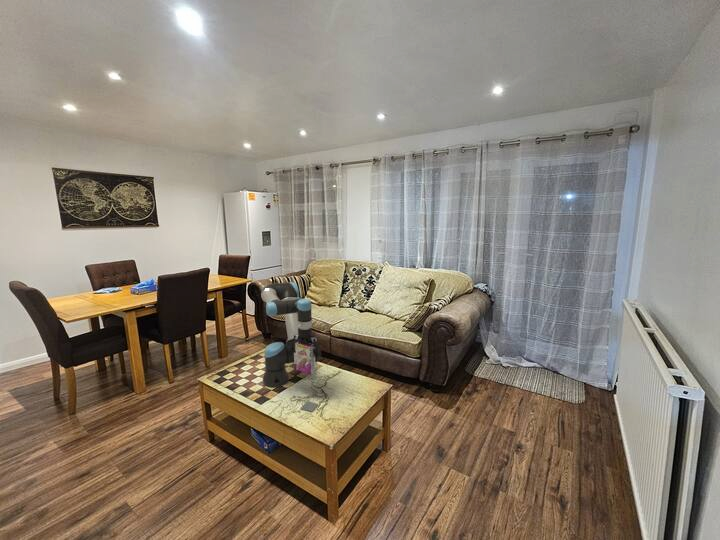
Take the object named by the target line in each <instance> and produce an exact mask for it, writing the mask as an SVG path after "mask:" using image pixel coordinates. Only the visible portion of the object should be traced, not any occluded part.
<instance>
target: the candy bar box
mask: <svg viewBox="0 0 720 540" xmlns="http://www.w3.org/2000/svg"><path fill="white" fill-rule="evenodd" d="M298 342H299V341H298ZM298 342H296V343H295V355H296V364H295V371H298V372H301V373H303V374H307V375H310V376H312V375H313V374H315V373H317V367H315V368H314V356H315V355H314V354H313V349H315V347H314V344H312V345H311V346H308V345H306V344H302V343H300V344H298ZM309 344H310V343H309Z"/></svg>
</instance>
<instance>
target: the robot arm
mask: <svg viewBox="0 0 720 540" xmlns="http://www.w3.org/2000/svg"><path fill="white" fill-rule="evenodd" d="M260 297H261V299H262V301H263V302H265V303H266V305H265V310H266V315H267V316H268V317H270V316H271V317H275V316H281V315H283V316H284V322H285V328H286V333H287V334H286V335H287V340H286V341H285V343H284V342H282V341H276V342H272V343H270V344H268V345H267V346H266V347H265V349H264V365H265V366H264V367H265V368H264V369H265V370H264V374H263V377H262V384H263V385H264V387H267V388H278V387H282V386H284V385H285V384H287V383H288V382H289V375H288V372H287V369H286V365H287V364H292V363H293V364H294V365H296V355H295V343H296V342H298V341H299V342H298V344H300V343H302V344H306V345H308V346H311V345H312V344H314V347H315V349H313V354H314V355H315V356H314V368H315V367H316V368H317V367H318V362H319V357H320V356H321V355H322V350H321V347H320V345H319V342H318V337H316V336H315V337H313V336H312V335H313V328H312V327H313V322H312V320H313V319H312V314H313V313H312V307H313V306H312V301H311V299H308V298H301V297H300V290H299V287H298V285H297V283H296V282H294V281H287V282H278V283H270V284H268V285H266V286H264V287H263V289H261V292H260ZM309 343H310V344H309Z"/></svg>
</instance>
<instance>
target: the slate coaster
mask: <svg viewBox="0 0 720 540" xmlns="http://www.w3.org/2000/svg"><path fill="white" fill-rule="evenodd" d="M318 406H319V403H316V402H312V401H308V400H306V402H305V403H303V405H302V406H301V407H300V410H302V411H305V412H309V413H313V412H314V411H315V409H316V408H318Z"/></svg>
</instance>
